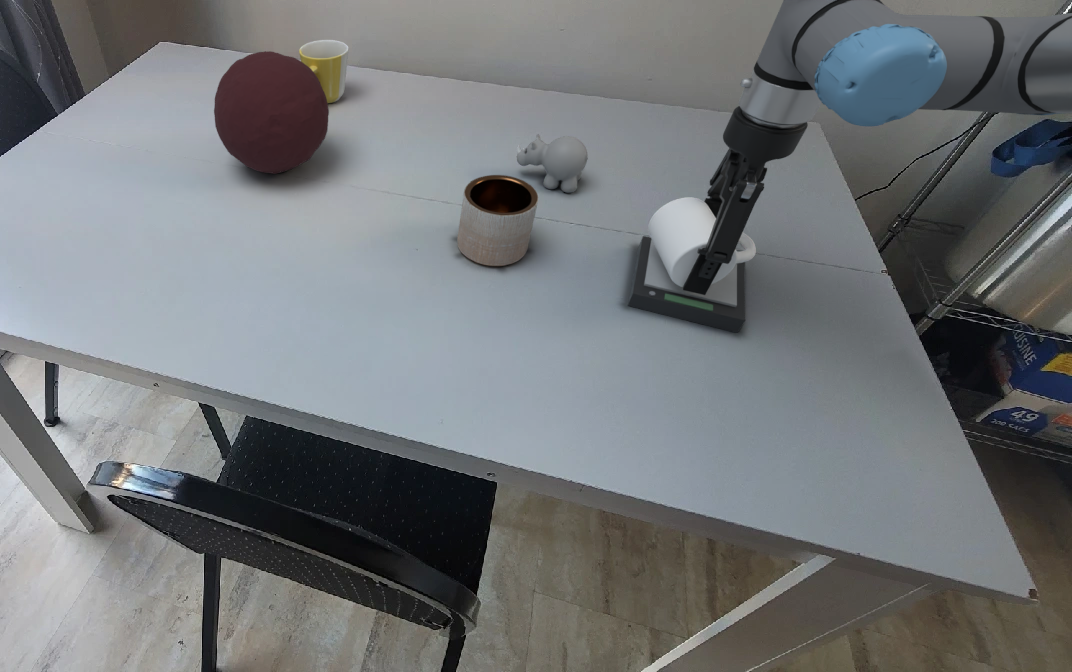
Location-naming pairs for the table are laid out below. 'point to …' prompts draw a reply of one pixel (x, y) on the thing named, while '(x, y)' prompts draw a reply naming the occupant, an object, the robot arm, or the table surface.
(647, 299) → the scale
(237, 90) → the decorative sphere
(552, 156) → the chubby cartoon animal
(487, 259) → the planter
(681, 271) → the mug
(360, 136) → the table surface
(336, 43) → the mug
